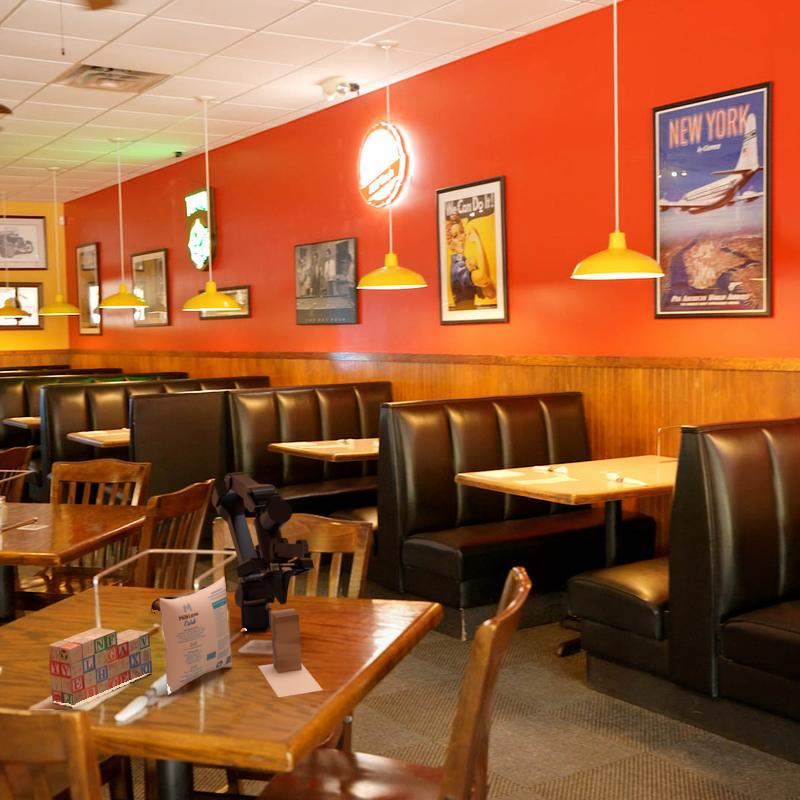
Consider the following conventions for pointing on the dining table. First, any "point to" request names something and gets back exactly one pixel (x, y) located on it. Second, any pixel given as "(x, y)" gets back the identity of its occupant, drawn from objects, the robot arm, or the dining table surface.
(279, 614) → the walnut block
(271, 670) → the placemat
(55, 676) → the stack of blocks
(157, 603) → the sunglasses case
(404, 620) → the dining table surface
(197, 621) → the pouch
